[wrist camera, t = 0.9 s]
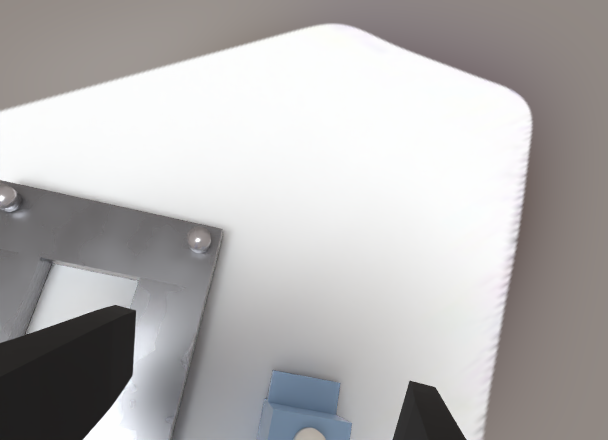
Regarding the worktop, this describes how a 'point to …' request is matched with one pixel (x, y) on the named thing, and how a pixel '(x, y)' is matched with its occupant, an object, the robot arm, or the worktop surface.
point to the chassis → (122, 263)
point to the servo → (302, 410)
